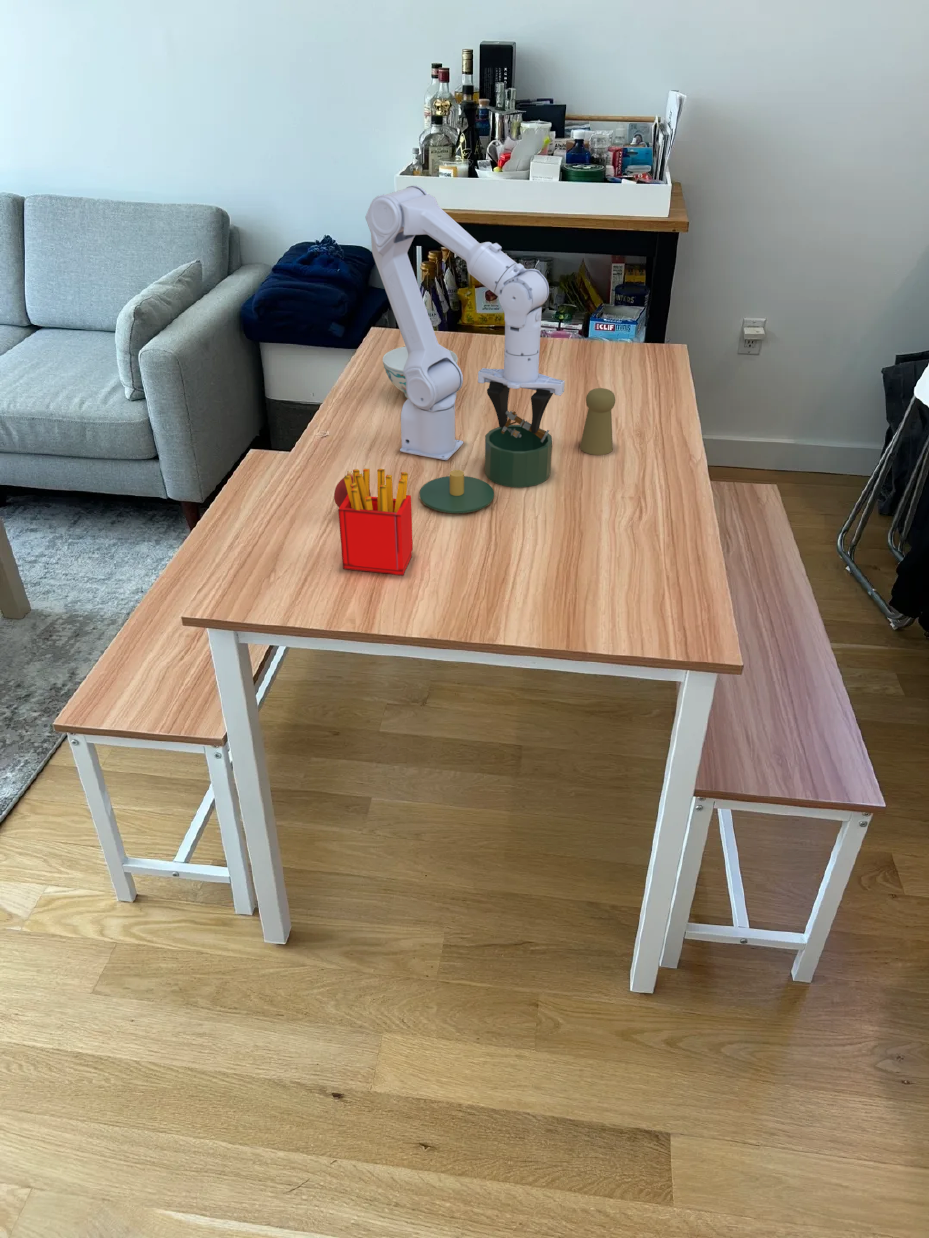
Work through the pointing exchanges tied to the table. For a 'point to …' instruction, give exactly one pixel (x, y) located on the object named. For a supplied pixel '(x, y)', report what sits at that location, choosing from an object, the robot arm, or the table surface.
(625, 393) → the table surface
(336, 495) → the onion
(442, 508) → the lid
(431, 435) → the robot arm
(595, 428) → the olive game pawn
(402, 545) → the french fries container
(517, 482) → the tin
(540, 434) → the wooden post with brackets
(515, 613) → the table surface
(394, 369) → the chinaware
